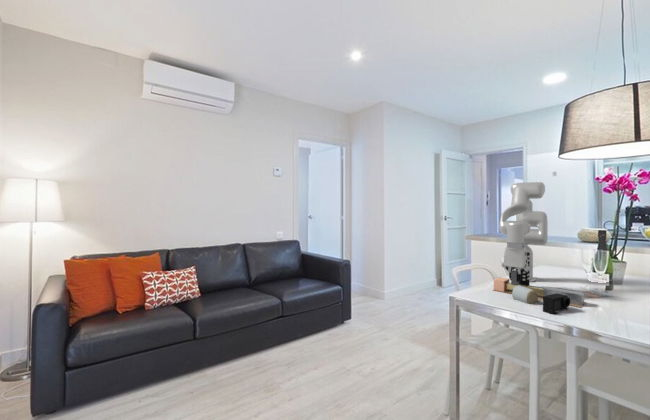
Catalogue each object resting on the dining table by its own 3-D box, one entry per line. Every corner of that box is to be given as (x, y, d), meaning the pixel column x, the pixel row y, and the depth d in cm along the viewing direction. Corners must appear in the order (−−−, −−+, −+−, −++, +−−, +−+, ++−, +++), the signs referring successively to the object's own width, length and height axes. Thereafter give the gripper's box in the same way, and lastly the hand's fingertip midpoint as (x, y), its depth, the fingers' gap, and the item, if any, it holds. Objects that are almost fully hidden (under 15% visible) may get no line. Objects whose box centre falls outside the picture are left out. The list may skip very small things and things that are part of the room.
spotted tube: (525, 286, 174) (525, 251, 174) (532, 290, 166) (532, 253, 166) (509, 285, 176) (509, 251, 175) (515, 289, 168) (515, 253, 167)
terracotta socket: (499, 287, 169) (499, 277, 169) (509, 288, 165) (509, 278, 165) (493, 289, 164) (493, 279, 164) (503, 291, 160) (503, 281, 160)
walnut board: (500, 288, 171) (500, 286, 171) (586, 304, 142) (586, 302, 142) (492, 292, 163) (492, 290, 163) (581, 310, 135) (581, 308, 135)
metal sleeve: (546, 296, 152) (546, 286, 151) (584, 303, 140) (584, 292, 140) (543, 298, 148) (543, 288, 148) (581, 306, 137) (581, 295, 137)
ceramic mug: (527, 306, 140) (528, 290, 140) (511, 301, 148) (511, 285, 148) (543, 304, 144) (544, 288, 144) (526, 299, 152) (527, 283, 151)
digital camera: (556, 315, 129) (556, 299, 129) (542, 311, 134) (542, 296, 134) (570, 312, 133) (570, 296, 133) (556, 308, 138) (556, 292, 138)
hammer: (503, 286, 166) (503, 268, 166) (552, 295, 149) (552, 275, 149) (500, 288, 163) (500, 269, 163) (549, 297, 147) (549, 276, 146)
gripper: (535, 246, 156) (535, 282, 156) (501, 243, 168) (501, 276, 168) (531, 248, 151) (530, 284, 151) (495, 244, 163) (495, 278, 163)
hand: (515, 280), depth 160 cm, fingers closed on hammer, 2 cm apart
